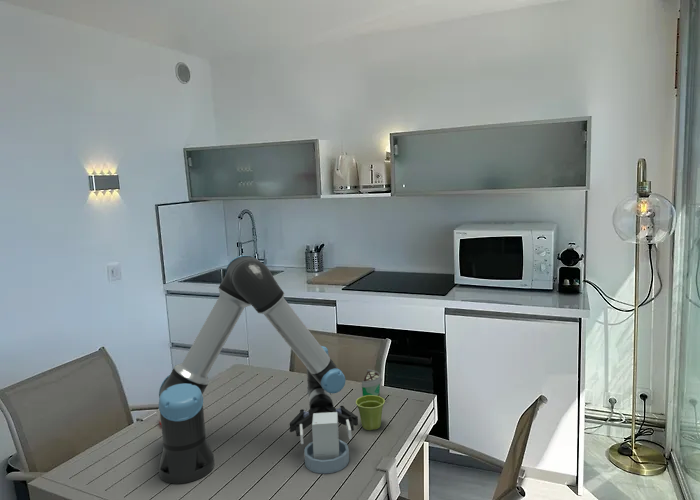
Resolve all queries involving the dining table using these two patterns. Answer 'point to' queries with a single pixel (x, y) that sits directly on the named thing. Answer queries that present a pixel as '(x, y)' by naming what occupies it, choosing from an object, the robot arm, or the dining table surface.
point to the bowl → (330, 464)
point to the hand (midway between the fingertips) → (326, 437)
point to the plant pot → (370, 411)
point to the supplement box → (325, 435)
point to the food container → (371, 383)
